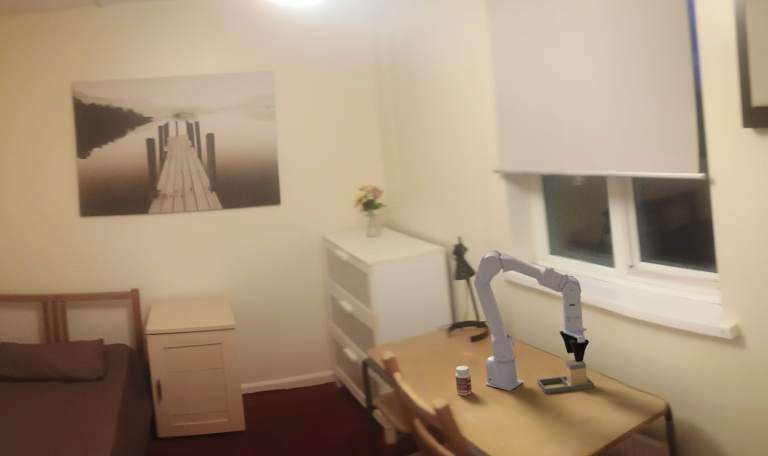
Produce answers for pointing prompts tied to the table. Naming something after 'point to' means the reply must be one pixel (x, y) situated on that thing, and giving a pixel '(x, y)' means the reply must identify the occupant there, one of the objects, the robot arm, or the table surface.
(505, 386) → the robot arm
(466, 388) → the pill bottle
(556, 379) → the gray divided rectangular frame
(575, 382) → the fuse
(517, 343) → the table surface
